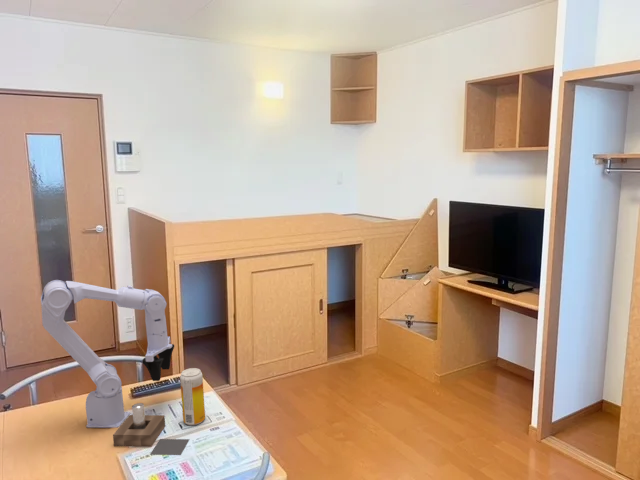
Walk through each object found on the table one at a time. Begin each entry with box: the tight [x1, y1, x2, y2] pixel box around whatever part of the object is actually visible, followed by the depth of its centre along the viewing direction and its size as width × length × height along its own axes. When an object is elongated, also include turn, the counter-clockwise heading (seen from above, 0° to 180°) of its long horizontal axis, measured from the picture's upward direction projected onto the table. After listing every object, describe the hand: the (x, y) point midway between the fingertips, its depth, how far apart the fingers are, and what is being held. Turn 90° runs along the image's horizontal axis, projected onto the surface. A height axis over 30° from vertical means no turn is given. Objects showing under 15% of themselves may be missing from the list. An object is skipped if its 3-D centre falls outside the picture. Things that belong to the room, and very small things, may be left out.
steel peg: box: [131, 402, 146, 429], centre depth 133 cm, size 3×3×9 cm
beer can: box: [179, 367, 206, 426], centre depth 140 cm, size 6×6×15 cm
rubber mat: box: [149, 438, 190, 456], centre depth 129 cm, size 8×7×1 cm
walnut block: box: [112, 414, 166, 448], centre depth 134 cm, size 10×10×4 cm
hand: (161, 374), depth 148 cm, fingers open, 7 cm apart
